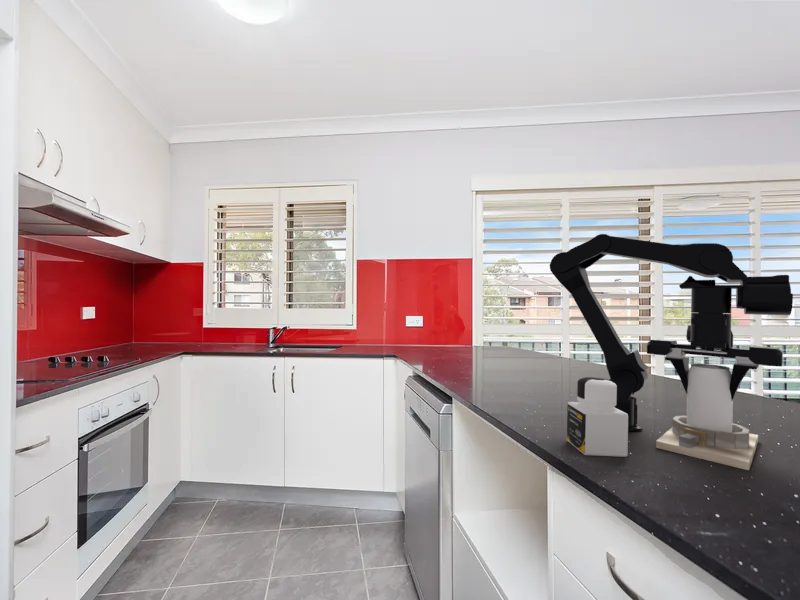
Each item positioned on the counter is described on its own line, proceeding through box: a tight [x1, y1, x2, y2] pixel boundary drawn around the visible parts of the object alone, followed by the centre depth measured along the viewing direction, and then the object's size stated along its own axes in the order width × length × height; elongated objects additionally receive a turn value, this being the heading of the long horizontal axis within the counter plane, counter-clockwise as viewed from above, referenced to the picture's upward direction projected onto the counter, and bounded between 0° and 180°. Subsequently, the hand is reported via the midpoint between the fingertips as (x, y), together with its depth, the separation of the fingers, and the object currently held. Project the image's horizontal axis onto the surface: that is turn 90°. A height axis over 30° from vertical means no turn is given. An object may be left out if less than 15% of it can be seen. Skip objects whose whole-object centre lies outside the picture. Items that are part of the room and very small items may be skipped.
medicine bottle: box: [566, 376, 629, 458], centre depth 65 cm, size 7×7×12 cm
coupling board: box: [655, 415, 759, 471], centre depth 69 cm, size 20×12×4 cm, turn 133°
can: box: [686, 363, 734, 432], centre depth 69 cm, size 6×6×12 cm
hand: (709, 398), depth 69 cm, fingers closed on can, 6 cm apart
